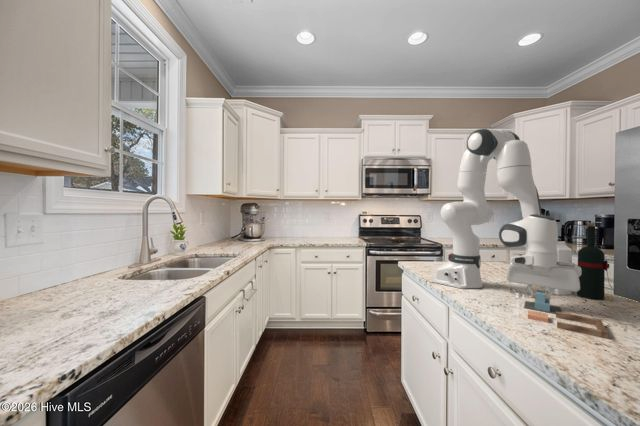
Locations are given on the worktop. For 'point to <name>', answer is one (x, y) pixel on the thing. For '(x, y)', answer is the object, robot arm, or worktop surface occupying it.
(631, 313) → the worktop surface
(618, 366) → the worktop surface
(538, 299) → the pusher
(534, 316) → the tile
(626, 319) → the worktop surface
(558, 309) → the mat
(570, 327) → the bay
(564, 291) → the milk
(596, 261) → the wine bottle
